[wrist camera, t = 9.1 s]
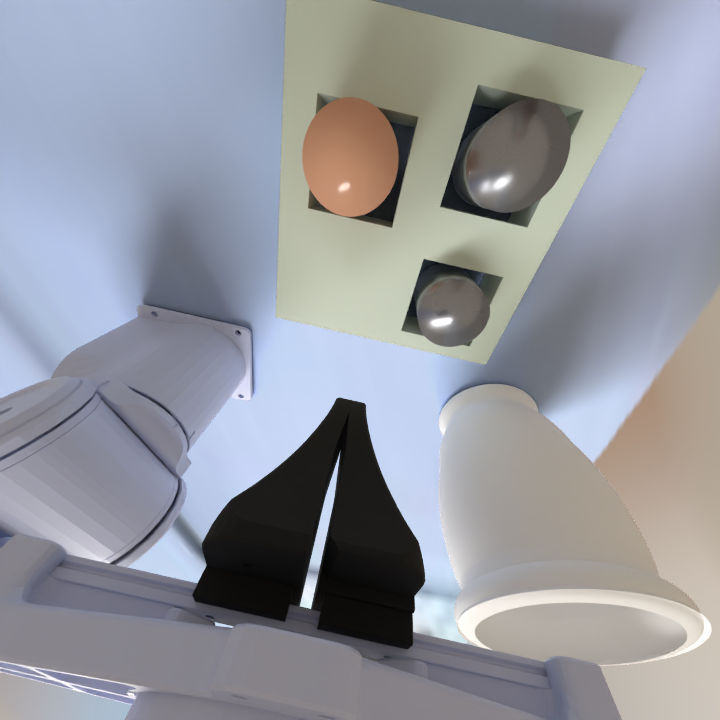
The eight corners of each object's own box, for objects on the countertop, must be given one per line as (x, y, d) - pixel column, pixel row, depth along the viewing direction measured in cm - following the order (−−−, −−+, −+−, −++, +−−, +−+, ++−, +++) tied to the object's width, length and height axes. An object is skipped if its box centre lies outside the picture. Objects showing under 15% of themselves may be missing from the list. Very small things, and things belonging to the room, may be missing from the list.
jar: (559, 365, 22) (772, 602, 10) (539, 452, 28) (661, 679, 15) (423, 377, 24) (455, 586, 12) (429, 456, 30) (455, 659, 17)
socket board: (289, 301, 22) (275, 317, 19) (306, 17, 14) (287, -21, 11) (475, 344, 22) (485, 364, 20) (600, 89, 14) (646, 68, 11)
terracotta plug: (320, 200, 16) (298, 205, 13) (330, 111, 14) (306, 85, 10) (387, 216, 16) (385, 225, 13) (406, 130, 14) (411, 110, 10)
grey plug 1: (407, 310, 21) (409, 338, 17) (424, 256, 19) (431, 275, 15) (458, 322, 21) (472, 353, 17) (481, 270, 19) (503, 291, 15)
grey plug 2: (442, 198, 17) (455, 201, 13) (468, 112, 15) (494, 87, 11) (505, 213, 17) (537, 221, 13) (541, 129, 15) (592, 111, 11)
